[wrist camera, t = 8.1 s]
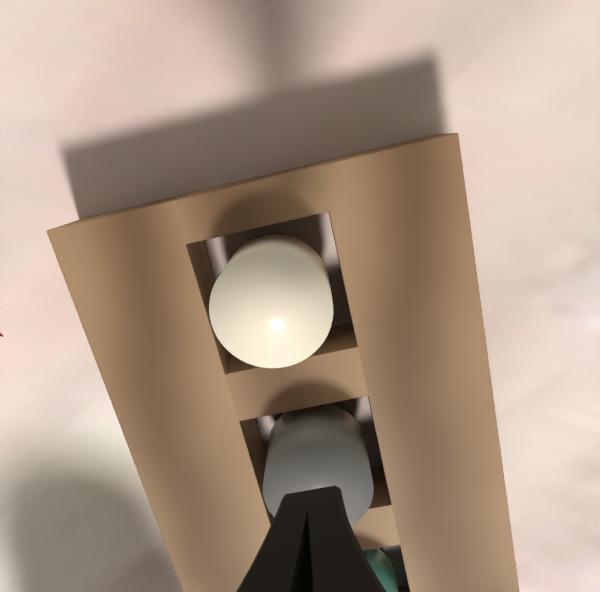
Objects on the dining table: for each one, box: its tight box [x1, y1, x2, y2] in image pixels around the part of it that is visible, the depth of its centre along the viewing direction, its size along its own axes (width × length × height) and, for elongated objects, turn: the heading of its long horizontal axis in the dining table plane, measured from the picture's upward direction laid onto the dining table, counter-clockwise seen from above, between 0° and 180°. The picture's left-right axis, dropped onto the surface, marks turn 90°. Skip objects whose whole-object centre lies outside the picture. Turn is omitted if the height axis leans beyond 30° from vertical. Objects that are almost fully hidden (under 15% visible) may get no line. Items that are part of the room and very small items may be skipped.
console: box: [47, 133, 519, 592], centre depth 21 cm, size 14×22×2 cm, turn 13°
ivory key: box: [209, 234, 333, 368], centre depth 17 cm, size 4×4×3 cm
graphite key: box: [263, 404, 374, 526], centre depth 19 cm, size 4×4×3 cm
